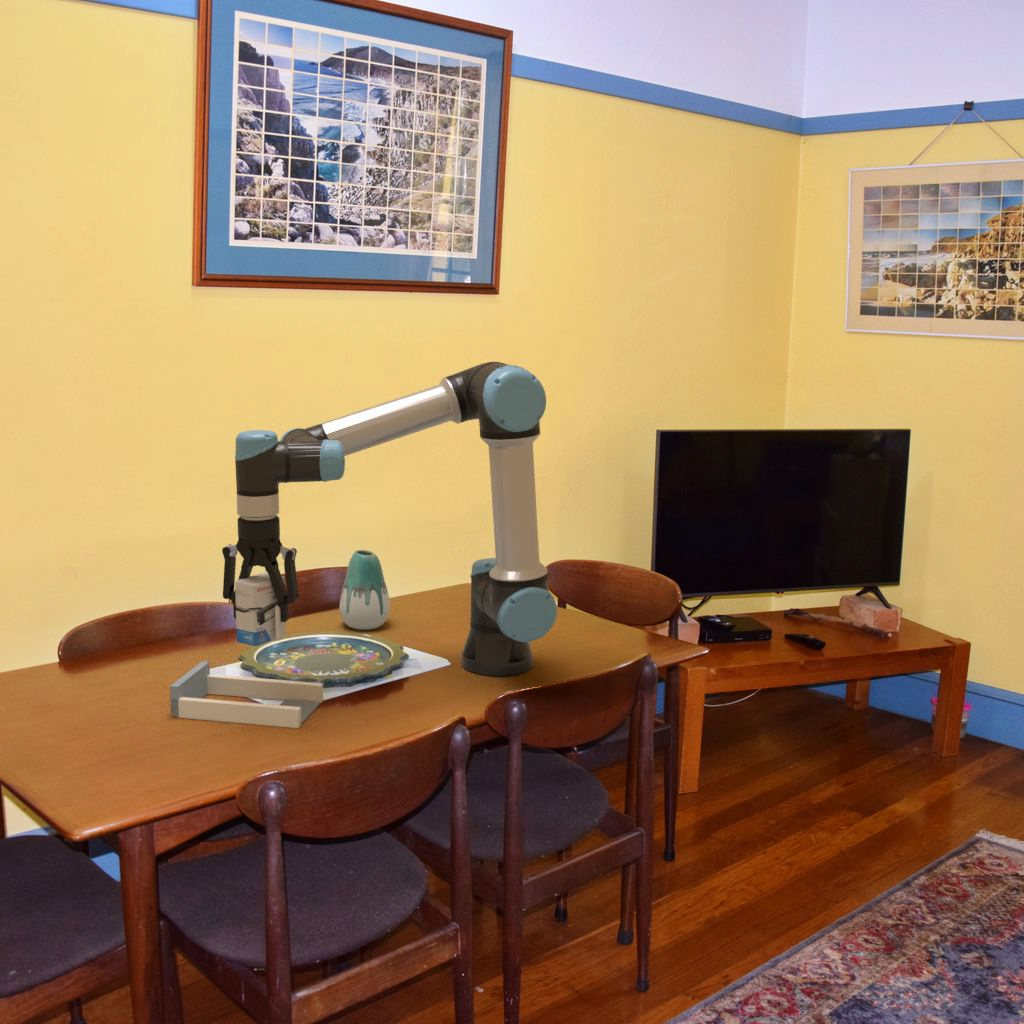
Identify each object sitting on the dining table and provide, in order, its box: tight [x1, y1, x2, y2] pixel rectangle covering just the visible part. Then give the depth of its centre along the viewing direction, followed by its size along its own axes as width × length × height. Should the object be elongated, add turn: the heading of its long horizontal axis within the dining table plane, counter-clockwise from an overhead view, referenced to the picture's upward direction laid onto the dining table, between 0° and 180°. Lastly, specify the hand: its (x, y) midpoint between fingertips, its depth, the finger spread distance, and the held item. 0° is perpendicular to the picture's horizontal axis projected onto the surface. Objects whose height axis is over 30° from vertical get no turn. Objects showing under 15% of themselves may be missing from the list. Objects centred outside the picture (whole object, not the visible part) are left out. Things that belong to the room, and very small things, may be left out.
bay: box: [169, 660, 324, 729], centre depth 227 cm, size 24×14×6 cm, turn 81°
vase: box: [338, 549, 391, 631], centre depth 279 cm, size 12×12×18 cm
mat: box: [279, 700, 321, 725], centre depth 227 cm, size 7×11×1 cm, turn 171°
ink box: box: [234, 571, 287, 647], centre depth 224 cm, size 8×5×12 cm, turn 148°
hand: (262, 636), depth 225 cm, fingers closed on ink box, 6 cm apart
